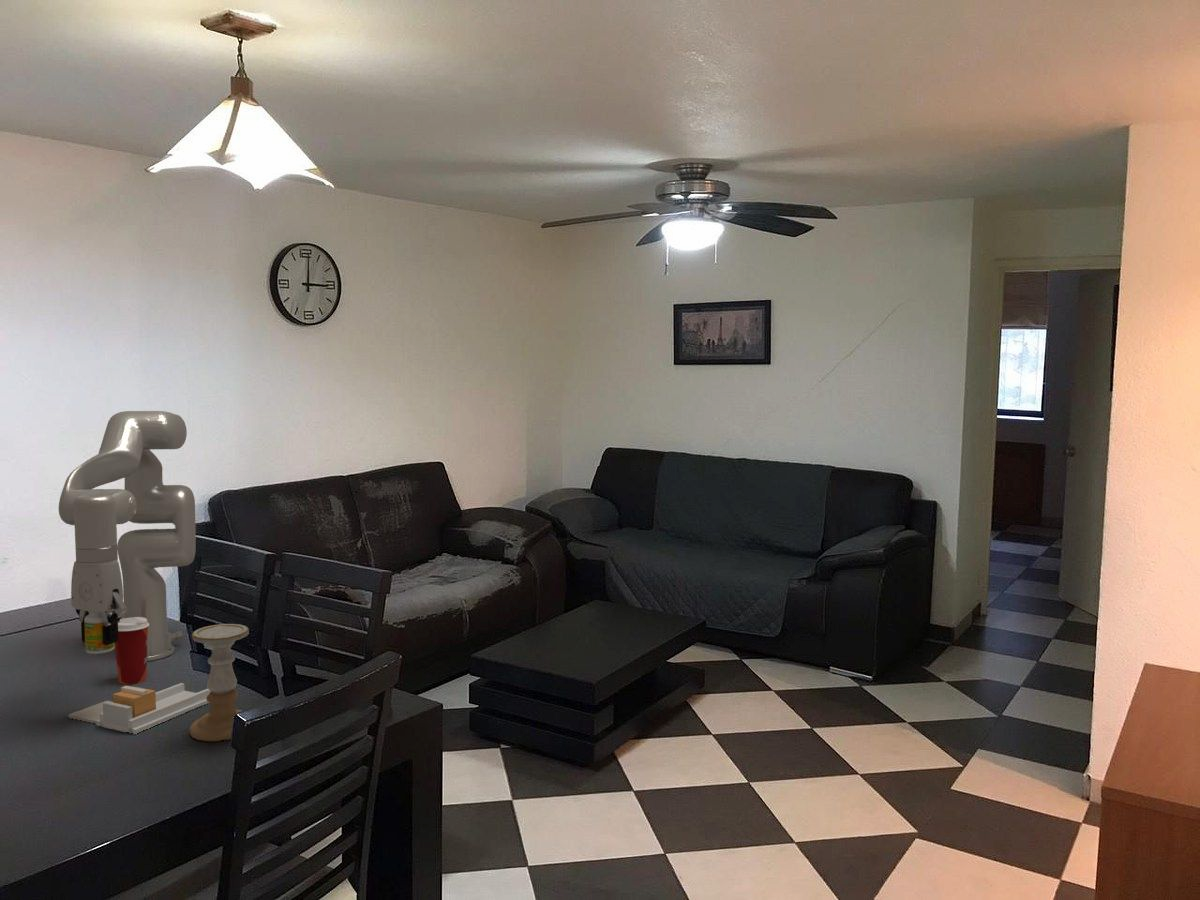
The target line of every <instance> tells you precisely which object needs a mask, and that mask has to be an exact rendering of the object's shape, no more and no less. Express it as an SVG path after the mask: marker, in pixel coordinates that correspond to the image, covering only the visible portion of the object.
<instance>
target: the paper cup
mask: <svg viewBox="0 0 1200 900" xmlns="http://www.w3.org/2000/svg"><path fill="white" fill-rule="evenodd" d="M148 626H149V623H148V621H147V619H146V618H143V617H131V618H124V617H123V618H121V619H120V623H118V639H119V640H118V642H115V648H114V650H115V659H116V668H117V669H116V670H117V677H118V682H119V684H120V685H124V686H129V685H135V683H137V684H140V683H142V681H143V682H145V681H146V680H147V672H148V671H147V668H148V667H147V665H148V661H147V639H148ZM145 679H146V680H145ZM144 680H145V681H144ZM139 682H140V683H139ZM128 684H129V685H128Z"/></svg>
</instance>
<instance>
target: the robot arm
mask: <svg viewBox="0 0 1200 900" xmlns="http://www.w3.org/2000/svg"><path fill="white" fill-rule="evenodd" d="M187 430H188V429H187V426H186V422H185V421H184V419H183V418H182V416H180V415H178V414H175V413H172V412H169V411H165V410H164V411H163V410H123V411H120V412H117V413H114V414H113V415H112V416H111V417H110V418H109V420H108V422H107V424H106V427H105V431H104V434H103V437H102V441H101V444H100V447H99V450H98V453H97V454H96V455H94V456H92V457H91V458H89V459H87V460H86V461H84V462H83V463H81V464H79V466H77V467H76V468H75V469H73V470H72V471H71V472H70V474H69V475H68V476H67V478H66V479H65V482H64V485H63V488H62V490H61V493H60V497H59V502H58V514H59V517H60V519H61V521H62V522H63V523H65V525H66V524H67V525H70V526H74V542H75V543H74V544H75V546H74V547H75V561H73V562H74V563H73V567H72V573H71V583H70V587H71V588H70V589H71V591H70V593H71V594H70V600H71V601H70V604H71V608H74V610H75V613H76V614H77V615H78V621H79V622H80V630H81V641H85V625H84V619H85V617H86V616H87V615H88V614H89V612H95V613H102V617H103V620H104V624H105V626H102V635H103V645H109V644H112V643H115V642H118V640H119V639H118V623H120V619H124V618H131V617H143V618H146V619H147V621H148V623H149V626H148V639H147V662H149V661H150V662H151V661H156V660H160V659H161V660H162V659H163V658H166V657H170V656H171V655H173V654H174V653H175V646H174V645H173V644H172V643H173V642H174V641H176V640H179V639H182V638H183V637H184V633H183V631H182V630H178V631H175V632H173V633H171V631H168V619H167V618H168V613H167V612H168V611H167V610H168V609H167V608H168V607H167V586H166V582H165V580H164V577H162V575H161V574H160V573H159V571H158V570H156V569H158V568H169V567H170V568H174V567H185V566H189V565H190V564H192V563H193V562H194V560H195V557H196V551H197V550H196V548H197V547H196V546H197V545H196V543H197V542H196V539H197V537H196V533H197V532H196V500H195V495H194V492H193V490H192V489H191V488H190V487H188V486H187V485H183V484H167V485H166V484H164V482H163V465H162V463H161V461H160V459H159V458H158V457H157V455H156V454H155V453H154V452H153V451H151V450H179V449H180V448H182V447H183V446H184V444H186V443H185V442H186V439H187V435H188V434H187V433H188V431H187ZM122 479H124V489H123V488H106V489H105V488H104V489H103V488H98V487H101V486H103V485H106V484H110V483H113V482H117V481H119V480H122ZM95 488H96V489H95ZM128 522H130V523H133V524H140V525H141V524H142V525H143V524H144V525H145V524H147V525H148V524H151V525H152V524H173V525H174V527H175V528H145V529H143V528H142V529H133V530H129V531H127V532H124V533H123V534H122V535H121V536H120V537H119V538H118V531H117V525H123V524H126V523H128ZM118 559H119V560H118ZM109 608H111V609H109ZM109 612H112V615H111V616H110V618H109V615H108V613H109Z"/></svg>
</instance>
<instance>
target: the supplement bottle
mask: <svg viewBox="0 0 1200 900" xmlns="http://www.w3.org/2000/svg"><path fill="white" fill-rule="evenodd" d="M109 609H110V608H109ZM108 615H109V618H110V616H111V615H112V613H110V612H109V613H108ZM84 625H85V644H84V648H85V653H87V654H93V655H94V654H104V653H109V652H111V651H114V650H115V643H112V644H109V645H103V635H102V626H105V624H104V620H103V617H102V613H95V612H89V614H88V615H87V616H86V617H85V619H84Z"/></svg>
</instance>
